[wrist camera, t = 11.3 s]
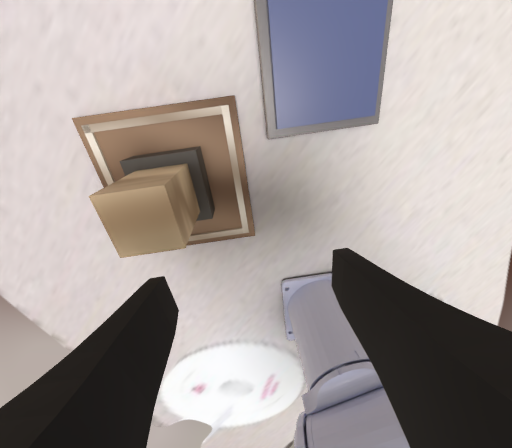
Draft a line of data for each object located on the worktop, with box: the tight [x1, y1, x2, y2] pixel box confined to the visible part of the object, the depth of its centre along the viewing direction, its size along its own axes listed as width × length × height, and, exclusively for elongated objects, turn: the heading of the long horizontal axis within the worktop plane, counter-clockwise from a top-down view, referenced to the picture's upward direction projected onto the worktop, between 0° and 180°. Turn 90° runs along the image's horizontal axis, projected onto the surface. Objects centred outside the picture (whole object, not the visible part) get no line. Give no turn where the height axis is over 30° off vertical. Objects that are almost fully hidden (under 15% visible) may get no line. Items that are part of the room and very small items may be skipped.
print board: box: [72, 96, 255, 245], centre depth 17 cm, size 11×11×1 cm
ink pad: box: [254, 0, 393, 139], centre depth 14 cm, size 8×8×2 cm
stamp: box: [89, 146, 215, 258], centre depth 14 cm, size 5×5×7 cm
